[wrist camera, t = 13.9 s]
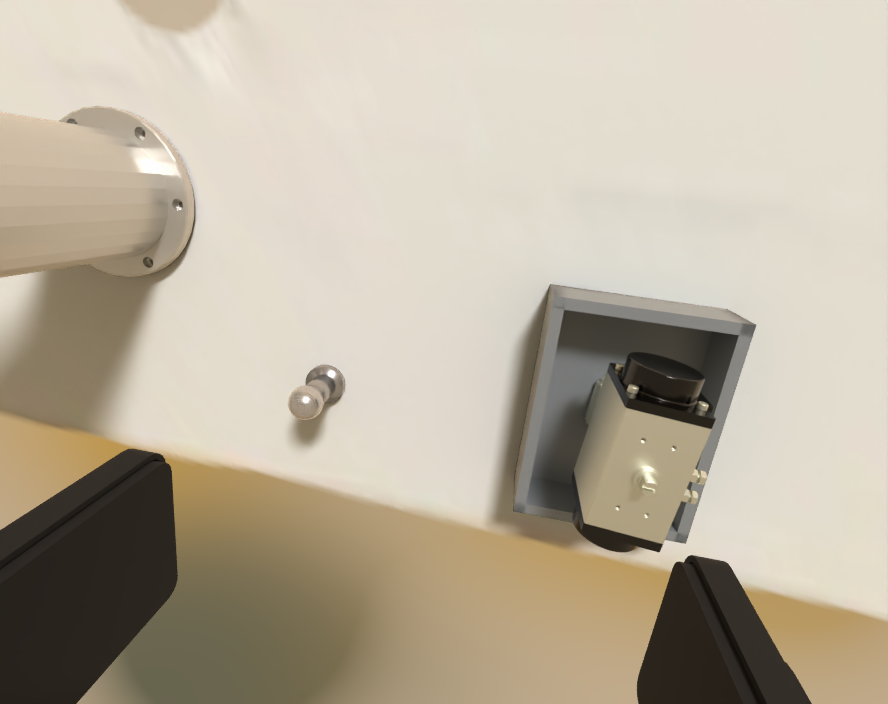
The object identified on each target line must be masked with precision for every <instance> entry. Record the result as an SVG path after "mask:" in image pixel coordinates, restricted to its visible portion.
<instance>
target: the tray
mask: <svg viewBox="0 0 888 704" xmlns="http://www.w3.org/2000/svg"><path fill="white" fill-rule="evenodd" d="M755 327H756V325H755V324H753V323H752V322H750V321H748V320H746V319H744V318H742V317H741V316H739V315H737V314H735V313H733V312H731V311H730V310H728V309H721V308H714V307H707V306H700V305H693V304H686V303H678V302H671V301H664V300H657V299H650V298H643V297H636V296H629V295H622V294H615V293H608V292H601V291H594V290H587V289H580V288H573V287H566V286H559V285H551V284H550V289H549V294H548V299H547V305H546V310H545V315H544V321H543V326H542V332H541V337H540V342H539V348H538V353H537V359H536V364H535V369H534V375H533V380H532V385H531V391H530V396H529V402H528V407H527V412H526V418H525V423H524V428H523V434H522V439H521V445H520V450H519V455H518V461H517V466H516V471H515V477H514V506H513V511H515V512H520V513H525V514H531V515H536V516H541V517H547V518H552V519H557V520H563V521H568V522H573V520H572V515H573V512H574V509H575V506H576V500H575V495H574V489H573V484H572V478H571V477H572V474H573V471H574V468H575V465H576V462H577V459H578V456H579V453H580V450H581V447H582V444H583V441H584V438H585V435H586V432H587V429H588V426H589V425H588V424H586V420H585V419H584V418H585V415H586V412H587V409H588V406H589V403H590V400H591V397H592V394H593V391H594V388H595V385H596V382H597V381H598V380H600V378H601V377H603V376H606V373H607V370H608V367H609V364H610V362H611V363H615V364H617V363H621V364H624V365H625V362H626V359H627V356H628V354H629V353H632V352H644V353H651V354H655V355H659V356H663V357H667V358H670V359H673V360H676V361H678V362H681V363H683V364H686V365H688V366H690V367H692V368H694V369H696V370H697V371H699V372H700V373H701V374H703V376H704V377H705V382H704V384H703V387H702V389H701V393H702V394H703V395H704V397H705V398H706V399H707V400H708V401H709V402H710V403H711V404H712V405H713V406H714V409H713V411H712V415H713V416H714V417H715V418H716V421H715V423H714V425H713V428H712V430H711V432H710V435H709V437H708V439H707V442H706V444H705V446H704V449H703V451H702V454H701V456H700V458H699V461H698V463H697V465H696V468H695V469H696V470H701V471H705V472H706V474H707V476H708V473H709V470H710V467H711V464H712V460H713V457H714V454H715V451H716V448H717V445H718V442H719V439H720V436H721V433H722V429H723V426H724V423H725V420H726V417H727V414H728V411H729V408H730V405H731V402H732V398H733V395H734V392H735V389H736V386H737V383H738V380H739V377H740V374H741V371H742V367H743V364H744V361H745V358H746V355H747V352H748V349H749V346H750V343H751V340H752V336H753V333H754V330H755ZM704 485H705V484H703V485H702V484H697V483H695V482H689V484H688V486H687V489H688V490H692V491H696V492H697V493H698V500H697V503H696V504H690V503H687V502H682V501H681V503H680V505H679V508H678V510H677V512H676V515H675V517H674V519H673V522H672V524H671V526H670V529H669V531H668V534H667V536H666V538H665V540H669V541H674V542H679V543H685V544H686V541H687V538H688V535H689V532H690V529H691V526H692V522H693V519H694V516H695V513H696V510H697V507H698V504H699V501H700V498H701V495H702V491H703V488H704Z"/></svg>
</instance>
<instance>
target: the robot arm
mask: <svg viewBox="0 0 888 704" xmlns="http://www.w3.org/2000/svg"><path fill="white" fill-rule="evenodd" d="M193 221H194V197H193V190H192V185H191V182H190V179H189V176H188V173H187V170H186V168H185V166H184V164H183V162H182V160H181V158H180V156H179V154H178V153H177V151H176V150H175V148H174V147H173V146H172V144H171V143H170V142H169V140H168V139H167V138H166V137H165V136H164V135H163V134H162V133H161V132H160V131H159V130H158V129H157V128H156V127H154V126H153V125H151V124H150V123H148V122H147V121H146V120H144V119H143V118H141V117H139V116H136V115H134V114H132V113H130V112H127V111H123V110H119V109H115V108H110V107H101V106H94V107H85V108H81V109H79V110H76V111H73V112H71V113H69V114H68V115H66V116H65V117H64V118H62V119H61V120H59V121H52V120H46V119H40V118H34V117H28V116H22V115H15V114H9V113H3V112H0V278H2V277H8V276H14V275H21V274H27V273H34V272H40V271H46V270H53V269H59V268H66V267H72V266H78V265H85V264H89V265H90V266H92V267H94V268H96V269H98V270H100V271H102V272H104V273H108V274H112V275H116V276H121V277H136V276H142V275H147V274H151V273H154V272H158V271H160V270H161V269H163V268H165V267H167V266H169V265H170V264H171V263H172V262H173V261H174V260H175V259H176V258H177V257H178V256H179V255H180V254H181V252H182V251H183V249H184V248H185V246H186V244H187V242H188V239H189V237H190V234H191V232H192V226H193ZM172 488H173V487H172V471H171V467H170V465H169V464H167V463H166V462H165V459H164V457H163V456H162V455H160V454H158V453H153V452H148V451H142V450H137V449H127V450H125V451H123V452H122V453H120V454H118V455H117V456H115V457H114V458H112V459H111V460H109V461H107V462H106V463H104V464H103V465H101V466H100V467H98V468H97V469H95V470H94V471H92V472H90V473H89V474H87V475H86V476H84V477H83V478H81V479H79V480H78V481H76V482H75V483H73V484H72V485H70V486H68V487H67V488H65V489H64V490H62V491H61V492H59V493H58V494H56V495H54V496H53V497H51V498H50V499H48V500H47V501H45V502H43V503H42V504H40V505H39V506H37V507H36V508H34V509H33V510H31V511H30V512H28V513H27V514H25V515H23V516H22V517H20V518H19V519H17V520H15V521H14V522H12V523H11V524H9V525H8V526H6V527H5V528H3V529H1V530H0V704H76V703H77V702H78V701H79V700H80V699H81V698H82V697H83V695H84V694H85V693H86V692H87V691H88V690H89V689H90V688H91V686H92V685H93V684H94V683H95V682H96V681H97V680H98V678H99V677H100V676H101V675H102V674H103V673H104V671H105V670H106V669H107V668H108V667H109V666H110V665H111V664H112V662H113V661H114V660H115V659H116V658H117V657H118V655H119V654H120V653H121V652H122V651H123V650H124V649H125V647H126V646H127V645H128V644H129V643H130V642H131V641H132V639H133V638H134V637H135V636H136V635H137V634H138V633H139V631H140V630H141V629H142V628H143V627H144V626H145V625H146V623H147V622H148V621H149V620H150V619H151V618H152V617H153V616H154V614H155V613H156V612H157V611H158V610H159V609H160V608H161V606H162V605H163V604H164V603H165V602H166V601H167V600H168V598H169V597H170V595H171V594H172V592H173V591H174V588H175V586H176V582H177V576H178V575H177V559H176V558H177V557H176V542H175V541H176V540H175V523H174V504H173V489H172ZM637 697H638V703H639V704H812V703H811V702H810V700H809V698H808V696H807V695H806V693H805V691H804V690H803V688H802V686H801V684H800V683H799V681H798V679H797V677H796V676H795V674H794V672H793V671H792V670H791V669H790V667H789V666H788V664H787V663H786V662H784V660H783V658H782V657H781V655H780V653H779V651H778V650H777V648H776V646H775V644H774V643H773V641H772V639H771V637H770V636H769V634H768V632H767V630H766V629H765V627H764V625H763V623H762V621H761V620H760V618H759V616H758V614H757V613H756V611H755V609H754V607H753V605H752V604H751V602H750V600H749V598H748V597H747V595H746V593H745V591H744V590H743V588H742V586H741V584H740V583H739V581H738V579H737V577H736V576H735V574H734V572H733V570H732V568H731V567H730V566H729V564H728V563H726V562H724V561H719V560H714V559H709V558H704V557H698V556H693V555H691V556H688V557H687V558H686V559H685V562H684V563H683V562H676V563H675V564H674V567H673V569H672V572H671V575H670V578H669V582H668V585H667V588H666V591H665V594H664V597H663V600H662V604H661V607H660V610H659V613H658V616H657V619H656V622H655V626H654V629H653V632H652V635H651V638H650V641H649V644H648V648H647V651H646V654H645V657H644V660H643V663H642V666H641V669H640V673H639V676H638V681H637Z"/></svg>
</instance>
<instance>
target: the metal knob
mask: <svg viewBox="0 0 888 704" xmlns="http://www.w3.org/2000/svg"><path fill="white" fill-rule="evenodd" d="M344 389H345V380H344V377H343V375H342V374H341V373H340V371H339V370H337V369H336V368H335V367H333V366H330V365H320V366H317V367H315V368H314V369H313V370H312V371H310V372H309V374H308V375H307V378H306V386H301V387H298V388H297V389H295V390H294V391H293V392H292V393H291V395H290V397H289V400H288V406H289V410H290V412H291V413H292V414H293V415H294V416H295V417H296V418H298V419H301V420H310V419H313V418H315V417H316V416H318V415H319V414H320V412H321V411H322V409H323V405H324V403H332V402H334V401H336V400H337V399H338V398H339V397H340V396H341V395H342V394H343V392H344Z"/></svg>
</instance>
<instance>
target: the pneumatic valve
mask: <svg viewBox="0 0 888 704" xmlns="http://www.w3.org/2000/svg"><path fill="white" fill-rule="evenodd" d="M704 382H705V377H704V376H703V374H701V373H700V372H699V371H697V370H696V369H694V368H692V367H690V366H688V365H686V364H683V363H681V362H678V361H676V360H673V359H670V358H667V357H663V356H659V355H655V354H651V353H644V352H632V353H629V354H628V356H627V359H626V362H625V365H624V364H621V363H617V364H615V363H611V362H610V364H609V367H608V370H607V373H606V376H603V377H601V378H600V380H598V381H597V382H596V385H595V388H594V391H593V394H592V397H591V400H590V403H589V406H588V409H587V412H586V415H585V418H584V419H585V420H586V424H588V425H589V426H588V429H587V432H586V435H585V438H584V441H583V444H582V447H581V450H580V453H579V456H578V459H577V462H576V465H575V468H574V471H573V474H572V477H571V478H572V484H573V489H574V495H575V500H576V506H575V509H574V512H573V515H572V520H573V523H574V525H575V527H576V529H577V530H578V531H579V532H580V534H581V535H583V536H584V537H585V538H586V539H587V540H589V541H590V542H592V543H594V544H596V545H597V546H600V547H602V548H604V549H607V550H610V551H615V552H629V551H632V550H634V549H635V548H637V547H641V548H645V549H649V550H652V551H656V552H660V550H661V548H662V545H663V543H664V541H665V538H666V536H667V534H668V531H669V529H670V526H671V524H672V522H673V519H674V517H675V515H676V512H677V510H678V508H679V505H680V503H681V501H682V502H687V503H690V504H696V503H697V500H698V493H697V492H696V491H692V490H688V489H687V486H688V484H689V482H695V483H697V484H702V485H703V484H705V482H706V480H707V474H706V472H705V471H701V470H696V469H695V468H696V465H697V463H698V461H699V458H700V456H701V454H702V451H703V449H704V446H705V444H706V442H707V439H708V437H709V435H710V432H711V430H712V428H713V425H714V423H715V421H716V418H715V417H714V416H713V415H712V411H713V409H714V406H713V405H712V404H711V403H710V402H709V401H708V400H707V399H706V398H705V397H704V395H703V394H702V393H701V389H702V387H703V384H704Z"/></svg>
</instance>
